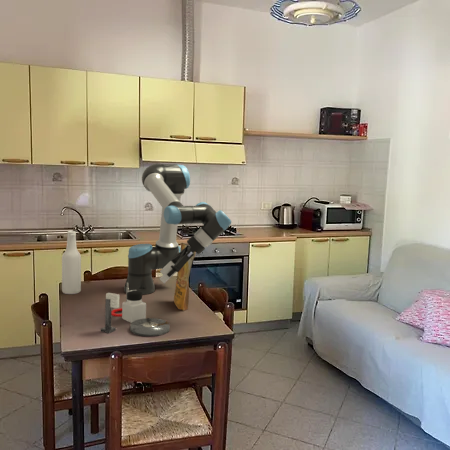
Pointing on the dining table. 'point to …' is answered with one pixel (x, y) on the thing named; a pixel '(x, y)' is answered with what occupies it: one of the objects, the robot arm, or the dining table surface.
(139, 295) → the medicine bottle
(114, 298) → the gray upright stand
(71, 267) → the alcohol
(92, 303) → the dining table surface
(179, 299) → the pancake mix bag
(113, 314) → the tow hook
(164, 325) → the disc
